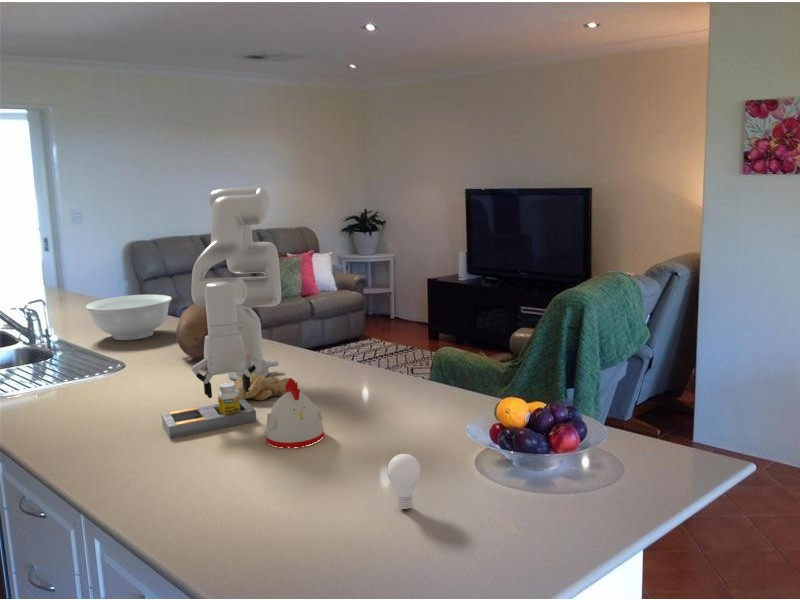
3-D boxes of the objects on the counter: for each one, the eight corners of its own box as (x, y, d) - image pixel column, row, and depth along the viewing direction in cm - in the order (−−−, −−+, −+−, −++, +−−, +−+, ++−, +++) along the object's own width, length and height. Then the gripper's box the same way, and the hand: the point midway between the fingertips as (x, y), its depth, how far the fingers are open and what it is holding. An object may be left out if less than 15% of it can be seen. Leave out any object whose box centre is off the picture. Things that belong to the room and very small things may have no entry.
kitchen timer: (277, 453, 169) (272, 391, 166) (259, 435, 181) (255, 377, 178) (332, 441, 175) (329, 381, 172) (312, 424, 187) (308, 368, 184)
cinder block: (245, 409, 200) (244, 398, 199) (256, 421, 190) (255, 409, 190) (162, 425, 190) (161, 413, 190) (169, 438, 181) (168, 426, 180)
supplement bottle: (236, 414, 196) (233, 380, 194) (243, 420, 192) (241, 385, 190) (217, 419, 193) (214, 384, 192) (224, 424, 189) (221, 389, 187)
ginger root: (214, 394, 210) (219, 366, 210) (260, 393, 222) (264, 367, 222) (247, 407, 199) (252, 378, 199) (294, 406, 211) (298, 378, 211)
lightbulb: (387, 502, 142) (385, 449, 140) (420, 500, 143) (418, 447, 140) (390, 518, 136) (387, 462, 134) (423, 515, 136) (422, 460, 134)
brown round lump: (196, 368, 243) (259, 361, 269) (207, 312, 240) (270, 310, 266) (157, 349, 254) (221, 344, 279) (167, 295, 251) (231, 295, 276)
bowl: (103, 329, 309) (99, 295, 306) (181, 325, 312) (178, 291, 310) (79, 348, 277) (74, 310, 275) (166, 343, 281) (162, 306, 278)
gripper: (251, 323, 195) (256, 385, 198) (185, 331, 187) (191, 395, 190) (259, 328, 188) (264, 391, 191) (191, 336, 181) (197, 403, 184)
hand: (228, 393), depth 191 cm, fingers open, 9 cm apart
